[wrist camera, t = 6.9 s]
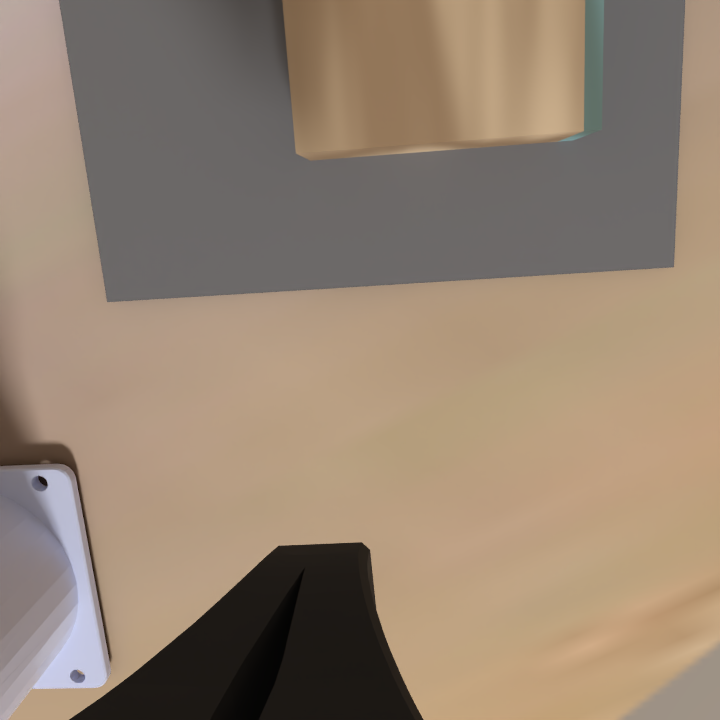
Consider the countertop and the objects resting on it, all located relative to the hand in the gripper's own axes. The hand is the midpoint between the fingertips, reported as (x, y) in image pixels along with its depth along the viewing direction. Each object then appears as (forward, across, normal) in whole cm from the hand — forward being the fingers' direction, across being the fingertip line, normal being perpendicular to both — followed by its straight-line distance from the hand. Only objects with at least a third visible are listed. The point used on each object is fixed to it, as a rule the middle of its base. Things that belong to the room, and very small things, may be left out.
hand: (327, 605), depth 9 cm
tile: (+9, +1, -10) cm, 14 cm away
